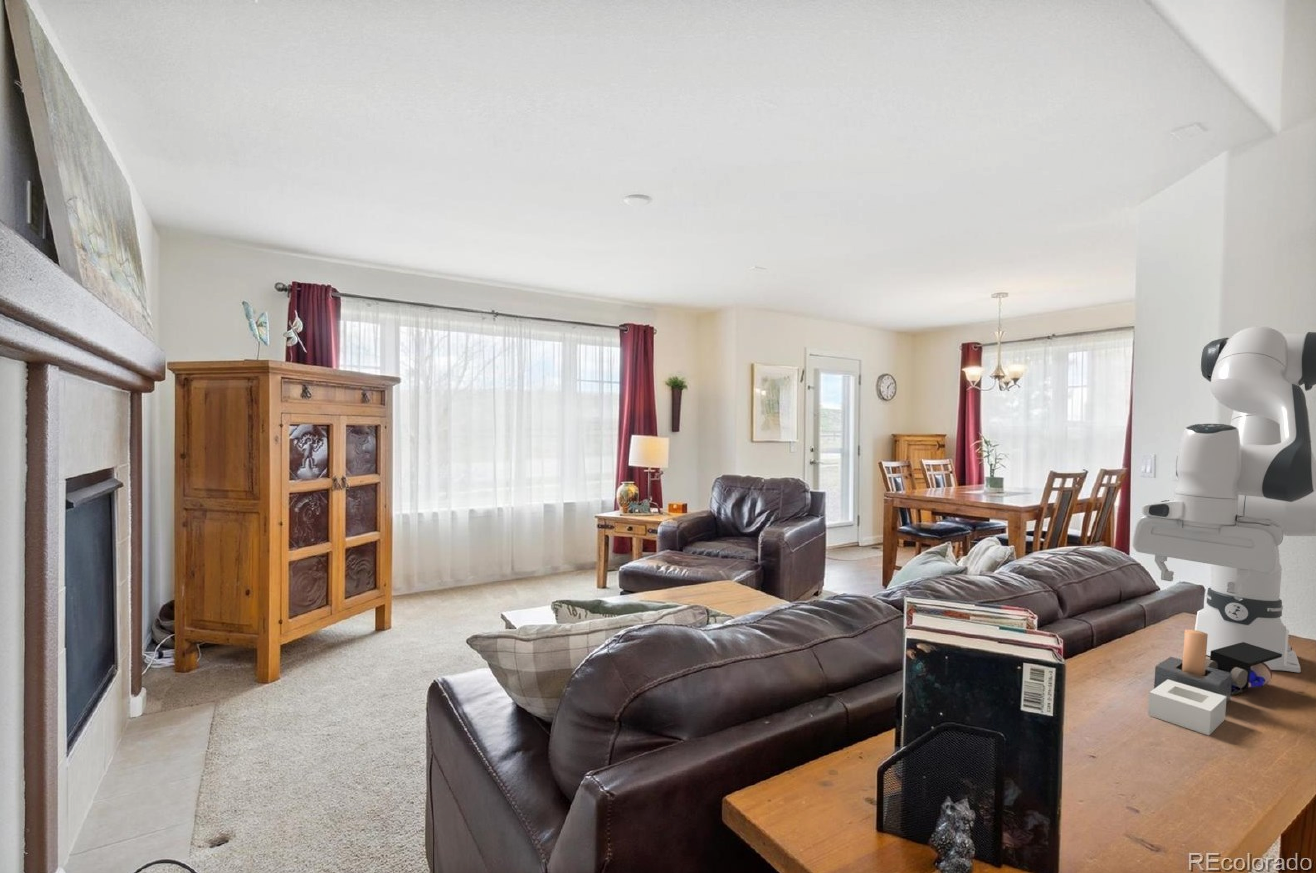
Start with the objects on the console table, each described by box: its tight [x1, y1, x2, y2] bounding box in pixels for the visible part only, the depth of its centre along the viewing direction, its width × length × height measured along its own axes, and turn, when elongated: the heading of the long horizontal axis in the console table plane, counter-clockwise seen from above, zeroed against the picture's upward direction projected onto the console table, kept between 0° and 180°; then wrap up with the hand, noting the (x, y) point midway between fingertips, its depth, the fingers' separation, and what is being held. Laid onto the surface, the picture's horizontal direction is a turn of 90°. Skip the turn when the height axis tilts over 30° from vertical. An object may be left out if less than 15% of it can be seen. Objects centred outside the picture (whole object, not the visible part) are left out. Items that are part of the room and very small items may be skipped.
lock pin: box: [1182, 629, 1208, 676], centre depth 114 cm, size 3×3×12 cm
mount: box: [1153, 656, 1232, 705], centre depth 114 cm, size 9×9×5 cm
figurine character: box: [1206, 642, 1282, 695], centre depth 119 cm, size 7×8×15 cm
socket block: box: [1147, 680, 1227, 736], centre depth 106 cm, size 10×8×4 cm
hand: (1199, 586), depth 114 cm, fingers open, 8 cm apart
